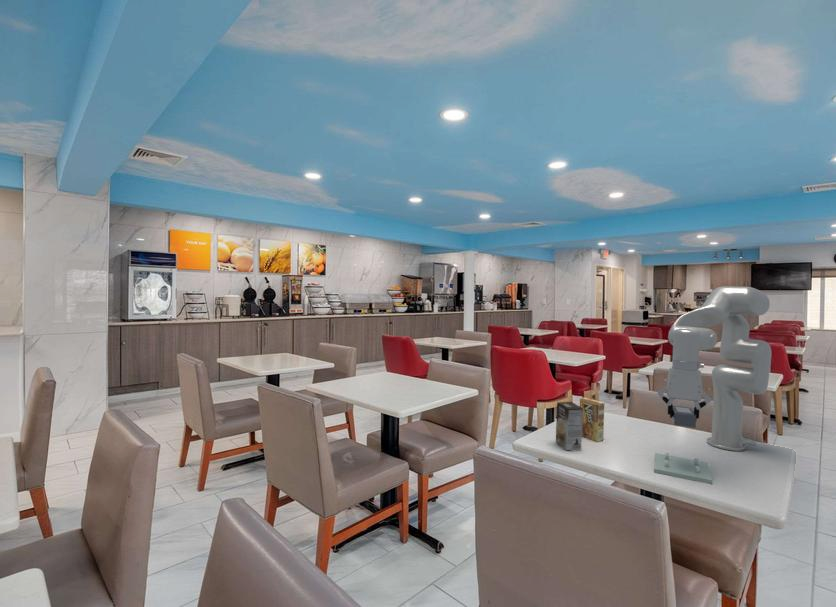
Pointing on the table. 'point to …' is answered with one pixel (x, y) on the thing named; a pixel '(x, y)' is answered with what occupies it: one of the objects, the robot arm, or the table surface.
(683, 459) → the pin tray
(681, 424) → the block
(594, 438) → the candy box
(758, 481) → the table surface
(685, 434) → the table surface
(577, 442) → the coffee box
